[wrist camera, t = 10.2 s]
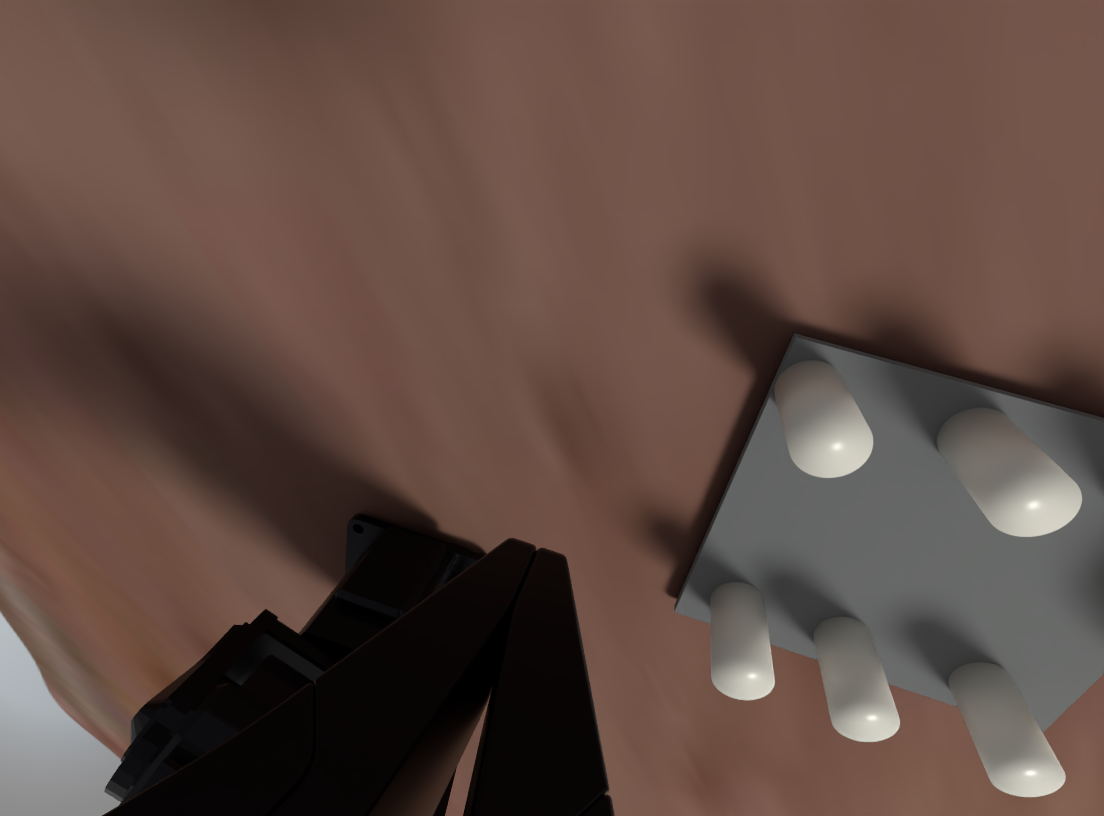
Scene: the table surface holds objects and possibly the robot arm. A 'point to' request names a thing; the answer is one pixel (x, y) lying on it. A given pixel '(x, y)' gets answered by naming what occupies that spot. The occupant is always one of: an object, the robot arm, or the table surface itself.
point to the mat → (916, 540)
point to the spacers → (846, 643)
